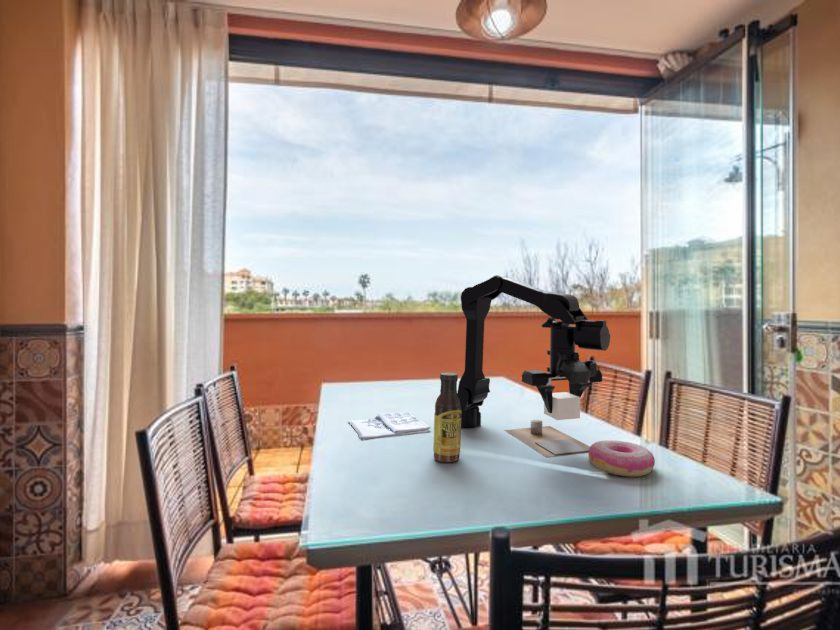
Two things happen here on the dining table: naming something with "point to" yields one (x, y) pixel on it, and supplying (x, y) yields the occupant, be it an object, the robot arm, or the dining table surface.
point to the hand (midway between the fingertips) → (561, 411)
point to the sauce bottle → (447, 420)
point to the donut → (621, 458)
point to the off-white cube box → (564, 406)
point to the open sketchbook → (389, 425)
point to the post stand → (548, 440)
